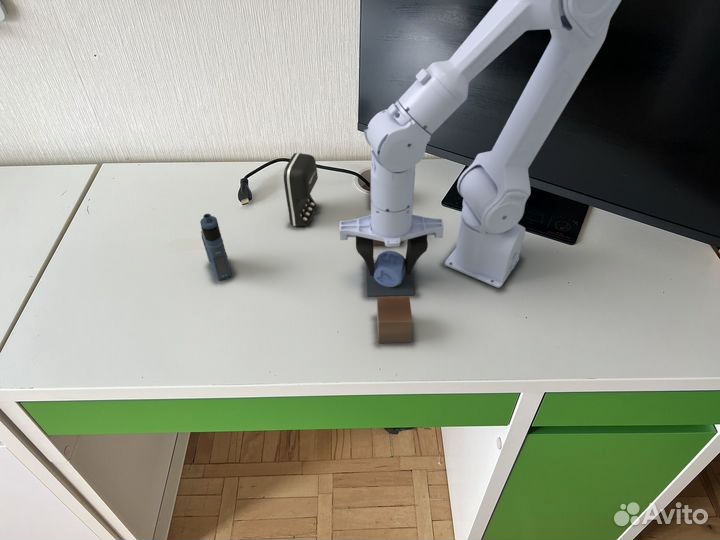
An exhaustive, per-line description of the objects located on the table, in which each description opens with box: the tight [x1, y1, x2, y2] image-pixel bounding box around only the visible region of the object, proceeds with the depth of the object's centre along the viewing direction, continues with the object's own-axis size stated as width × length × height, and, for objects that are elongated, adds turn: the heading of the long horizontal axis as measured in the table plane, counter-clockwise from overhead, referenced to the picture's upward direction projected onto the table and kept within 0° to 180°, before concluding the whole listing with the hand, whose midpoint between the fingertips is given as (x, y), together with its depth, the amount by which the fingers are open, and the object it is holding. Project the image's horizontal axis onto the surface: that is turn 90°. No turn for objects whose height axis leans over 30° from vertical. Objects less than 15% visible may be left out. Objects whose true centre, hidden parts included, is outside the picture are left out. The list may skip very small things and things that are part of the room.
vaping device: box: [199, 213, 233, 281], centre depth 80 cm, size 3×5×12 cm, turn 28°
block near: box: [376, 296, 413, 344], centre depth 73 cm, size 4×4×4 cm
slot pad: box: [365, 262, 415, 298], centre depth 82 cm, size 7×7×1 cm
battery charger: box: [283, 152, 319, 227], centre depth 89 cm, size 7×4×11 cm, turn 166°
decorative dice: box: [374, 250, 406, 287], centre depth 81 cm, size 4×4×4 cm
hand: (389, 270), depth 81 cm, fingers closed on decorative dice, 5 cm apart
